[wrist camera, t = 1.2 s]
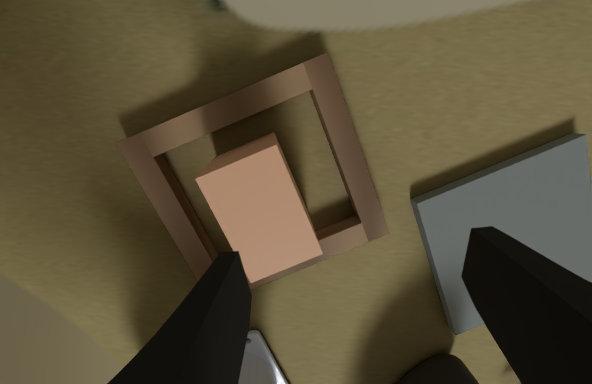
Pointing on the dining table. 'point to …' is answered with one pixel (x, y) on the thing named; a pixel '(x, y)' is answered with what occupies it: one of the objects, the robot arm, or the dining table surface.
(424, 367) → the dark rounded block
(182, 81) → the dining table surface
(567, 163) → the mat
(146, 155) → the brown wooden frame
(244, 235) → the terracotta block
